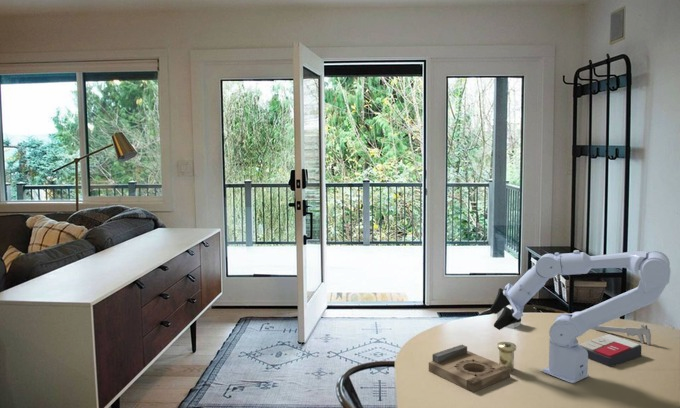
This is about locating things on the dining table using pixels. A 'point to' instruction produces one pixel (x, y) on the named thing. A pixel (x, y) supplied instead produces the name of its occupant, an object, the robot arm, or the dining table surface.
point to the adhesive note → (510, 324)
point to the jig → (467, 368)
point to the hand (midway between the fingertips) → (494, 319)
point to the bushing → (506, 354)
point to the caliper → (629, 331)
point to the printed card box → (611, 350)
